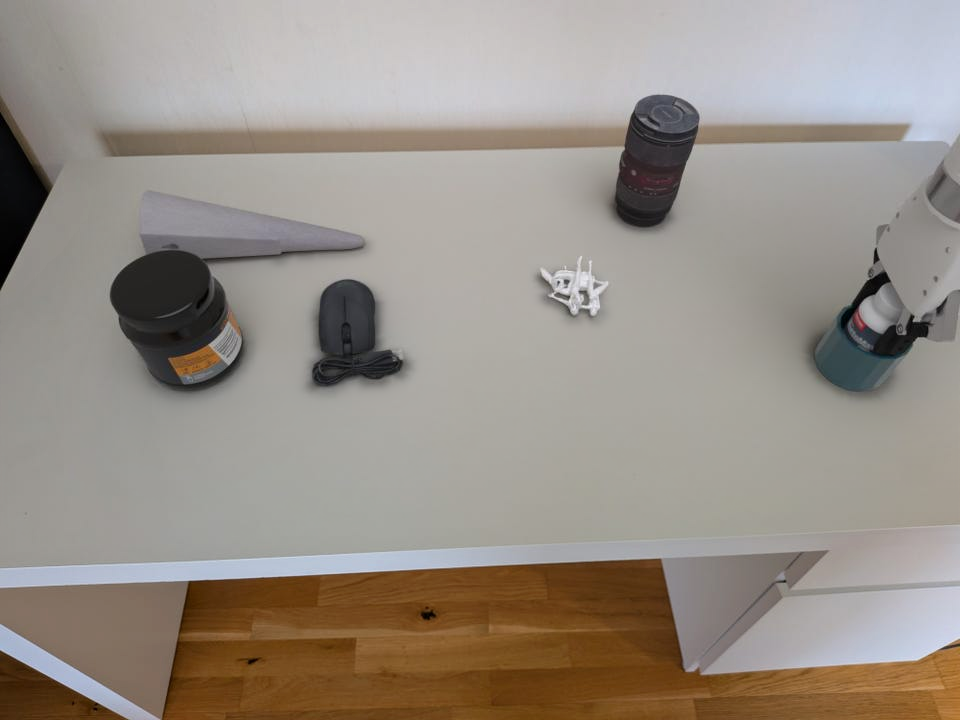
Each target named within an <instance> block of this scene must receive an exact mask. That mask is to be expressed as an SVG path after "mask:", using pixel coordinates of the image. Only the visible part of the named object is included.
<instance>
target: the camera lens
mask: <svg viewBox="0 0 960 720" xmlns="http://www.w3.org/2000/svg"><path fill="white" fill-rule="evenodd" d="M700 118H701V117H700V113H699V111H698V109H697V108H696V107H695V106H693V104H692V103H690V102H688V101H687V100H685V99H683V98H681V97H678V96H676V95H670V94H658V93H657V94H651V95H647V96H645V97H642V98H641V99H639V100H638V101H637V102H636V104H635V106H634V109H633V111H632V113H631V114H630V116H629V122H628V126H627V131H626V135H625V140H624V141H625V142H624V149H623V150H622V152H621V154H620V157H619V158H620V159H619V162H618V170H619V172H618V174H617V179H616V183H615V196H614V201H615V203H616V206H615V207H616V208H615V209H616V213H617V216H618V217H619V218H620V219H621V220H622V221H624V222H625V223H627V224H629V225H631V226H635V227H640V228H649V227H654V226H657V225H658V224H660V223H662V222H663V221H664V220H665V218H666V217H667V214H668V213H669V212H670V211H671V210H672V207H673V205H674V203H675V201H676V199H677V196H678V193H679V189H680V187H681V182H682V179H683V175H684V171H685V169H686V165H687V162H688V161H689V158H690V156H691V153H692V152H693V148H694V145H695V143H696V138H697V135H698V132H699V124H700V120H701V119H700Z"/></svg>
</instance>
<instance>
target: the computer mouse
mask: <svg viewBox="0 0 960 720" xmlns="http://www.w3.org/2000/svg"><path fill="white" fill-rule="evenodd" d="M375 314H376V302H375V297H374V294H373V291H372V290H371V289H370V287H369V286H368V285H366V284H365V283H363V282H361V281H359V280H356V279H351V278H345V279H340V280H337V281H334V282H333V283H331V284H329V285H328V286H326V287H325V288H324V289H323V291H322V292H321V295H320V297H319V312H318V324H317V325H318V326H317V327H318V339H319V347H320V350H321V352H323V353H326V354H327V355H329V357H328V356H327V357H326V356H325V357H323V358H321V359H319V361H316V362H315V364H314V365H313V367H312V370H311V373H312V374H311V379H312V381H313V382H314V383H315V384H317V385H319V386H324V387H325V386H330V385H334V384H336V383H337V382H339V381H341V380H342V379H344V378H346V377H349V376H351V375H354V376H357V375H358V374H360V375H361V376H363V377H365V378H368V379H370V380H381V379H382V378H384V376H385V375H391V374H393V373H397V372H399V371H400V370H401V369H402V367H403V363H404V362H403V361H404V360H405V359H404V352H403V349H396V350H391V349H386V350H378V351H372V352H370V353H368V354H365V355H363V356H362V357H356V358H352V355H356V354H361V353H365V352H368V351H370V350H371V349H373V348H375V346H376V325H375V323H376V322H375ZM331 356H340V357H341V356H342V357H343V356H345V358H338V357H331ZM336 369H338V370H340V371H338V372H336V373H332V374H327V373H325V371H327V370H336ZM341 369H342V370H341ZM372 375H376V376H372Z"/></svg>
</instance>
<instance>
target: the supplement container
mask: <svg viewBox="0 0 960 720" xmlns="http://www.w3.org/2000/svg"><path fill="white" fill-rule="evenodd" d="M109 300H110V304H111V306H112V308H113V309H114V311H115V313H116V314H117V316H118V317H117V318H118V325H119V327H120V331H121V332H122V333H123V335H124V336H125V337H126V339H127V340H128V341H130V343H131V344H132V346H133V348H134V349H135V351H136V352H137V353H138V355H139V357H140V358H141V360H142V361H143V363H144V365H145V367H146V368H147V370H148V372H149V374H150V375H151V376H152V378H154V379H155V381H157V382H159V384H161V385H163V386H165V387H167V388H170V389H174V390H177V391H194V390H200V389H204V388H207V387H211V386H212V385H214V384H215V385H216V384H217V383H218V382H221V381H222V380H224V379H225V378H226V377H228V376H229V375H230V374H231V373H232V372H233V371H234V370H235V369H236V367H237V366H238V364H239V362H240V361H241V359H242V357H243V354H244V350H245V337H244V334H243V331H242V329H241V327H240V326H239V324H238V322H237V319H236V316H235V315H234V312H233V311H232V307H231V306H230V303H229V301H228V299H227V293H226V291H225V289H224V286H223V285H222V283H221V282H220V281H219V280H218V279H217V278H216V277H215V276H213V273H212V272H211V269H210V268H209V266H208V264H207V262H206V261H205V260H204V259H201V258H200V257H199V256H197V255H195V254H193V253H190V252H187V251H182V250H163V251H157V252H153V253H150V254H144V255H142V256H140V257H138V258H136V259H134V260H132V261H131V262H129V263H128V264H126V266H124V267H123V268H122V269H121V270H120V271H119V272H118V273H117V275H116V276H115V278H114V279H113V281H112V283H111V286H110V289H109Z"/></svg>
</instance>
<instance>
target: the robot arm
mask: <svg viewBox="0 0 960 720" xmlns="http://www.w3.org/2000/svg"><path fill="white" fill-rule="evenodd" d="M875 243H876V244H875V245H876V246H875V248H874V250H873V261H872V265H871V266H870V267H869V268H867V269H868V270H867V277H868V279H866V281H865V282H864V284H863V286H862V287H861V288H860V290H859V291H858V293H857V295H855V298H854V299H853V300H852V301H851V303H850V305H852V307H853V308H854V309H856V310H857V308H858V307H859V305H860V304H861V303H862V302H863V300H864V299H866V298H867V297H869V296H872V295H875V294H876V293H877V292H878V291H879V289H880V288H881V287H882V286H883V285H884V284H886V283H889V282H892V284H893V286H894V288H895V289H896V291H897V293H898V295H899V297H900V299H901V300H902V302H903V304H904V305H905V306H904V308H903V311H902V313H901V316H900V318H899V320H898V323H897V325H891V326H889V327H888V329H887V330H886V331H885V333H884V334H883V335H882V336H881V338H880V339H879V340H878V342H877V343H876V344H875V346H874V348H873V351H874V353H875V354H891V355H900V354H903V353H905V352H906V351H907V350H908V348H909V347H910V346H911V345H912V344H913V345H914V342H915V341H916V340H917V339H918V338H920V339H921V338H923V339H926V340H930V341H933V342H936V343H952V342H954V341H955V339H956V333H957V326H958V319H959V318H960V133H959V134H958V136H957V137H956V139H955V140H954V142H953V143H952V145H951V146H950V147H949V149H948V150H947V152H946V154H945V155H944V157H943V159H942V160H941V161H940V163H939V164H938V166H937V168H935V170H934V172H933V173H932V174H931V175H930V176H928V177H927V178H926V179H925V180H923V182H922V183H921V184H920V185H919V186H918V187H916V189H915V190H914V191H913V192H912V193H911V195H910V196H909V197H908V198H907V199H906V200H905V201H904V203H903V204H902V205H901V207H900V208H899V209H898V211H897V212H896V213H895V215H894V216H893V217H892V219H891V220H890V221H889V223H885V224H880V225H878V226H877V227H876V233H875ZM915 317H916V318H921V319H920V321H915ZM913 320H914V322H913Z"/></svg>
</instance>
